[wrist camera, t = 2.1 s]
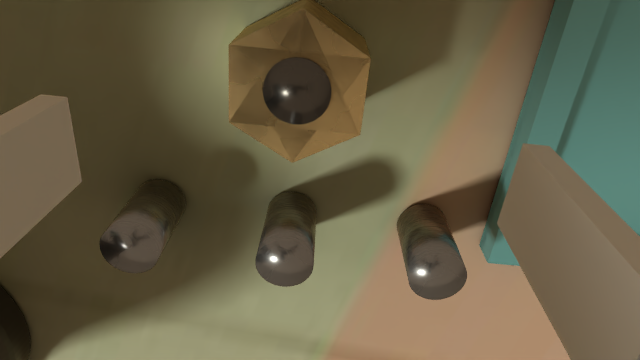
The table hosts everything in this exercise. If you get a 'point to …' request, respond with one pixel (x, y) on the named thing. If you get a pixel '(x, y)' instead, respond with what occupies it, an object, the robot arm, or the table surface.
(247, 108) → the nut
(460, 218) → the table surface
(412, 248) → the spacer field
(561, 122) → the tray
